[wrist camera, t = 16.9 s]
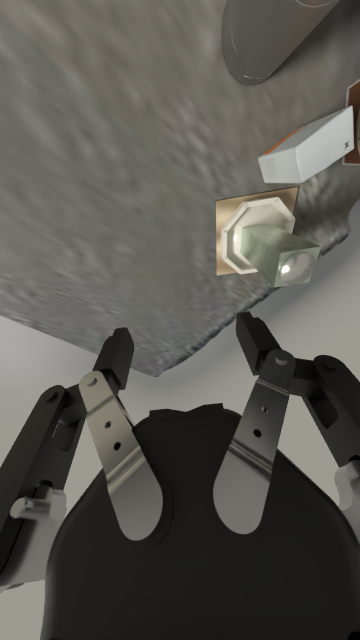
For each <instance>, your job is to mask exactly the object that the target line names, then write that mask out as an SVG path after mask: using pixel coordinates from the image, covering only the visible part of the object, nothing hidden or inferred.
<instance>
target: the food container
mask: <svg viewBox="0 0 360 640" xmlns="http://www.w3.org/2000/svg"><path fill="white" fill-rule="evenodd" d="M351 105H352V106H353V132H354V149H353V150H351V151H350V152H348V153H347V154H345V155H344V156H343V161H342V165H353V166H360V79H359V80H357V81H356V82H354V83H353V84H352V85H350V86H349V87H348V88H347V96H346V107H349V106H351Z"/></svg>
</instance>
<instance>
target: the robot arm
mask: <svg viewBox="0 0 360 640" xmlns="http://www.w3.org/2000/svg"><path fill="white" fill-rule="evenodd" d="M339 1H340V0H227V1H226V5H225V10H224V15H223V23H222V46H223V54H224V58H225V61H226V65H227V67H228V69H229V71H230V73H231V74H232V76H233V77H234V78H235V79H236V80H237V81H238V82H240V83H241V84H244V85H256V84H259V83H261V82H263V81H264V80H266V79H267V78H268V77H269V76H270V75H271V74H272V73H273V72H275V71H276V70H277V68H278V67H279V66H280V65H281V64H282V63H283V62H284V60H286V59H287V57H288V56H289V55H290V54H291V53H292V52H293V51H294V50H295V49H296V48H297V47H298V46H299V44H300V43H301V42H302V41H303V40H304V39H305V38H306V37H307V36H308V35H309V34H310V33H311V32H312V30H313V29H314V28H315V27H316V26H317V25H318V24H319V23H320V22H321V21H322V20H323V19H324V17H325V16H326V15H327V14H328V13H329V12H330V11H331V10H332V9H333V8H334V7H335V6H336V5H337V3H338V2H339ZM236 334H237V337H238V340H239V342H240V345H241V347H242V349H243V352H244V354H245V357H246V359H247V361H248V364H249V366H250V369H251V371H252V373H253V375H254V376H255V375H259V377H258V380H257V381H256V382H255V385H254V387H253V390H252V392H251V395H250V398H249V400H248V402H247V405H246V407H245V410H244V412H243V415H242V416H241V415H240V414H238V413H236V412H234V411H231V410H229V409H224V408H223V404H222V403H218V404H209V405H203V406H200V407H198V408H195V409H193V410H190V411H187V412H183V411H177V410H171V409H160V410H151V411H150V415H149V417H147V418H145V419H143V420H142V421H140V422H139V423H138V424H136V425H135V424H134V422H133V421H132V419H131V418H130V416H129V414H128V413H127V411H126V409H125V407H124V405H123V403H122V402H121V400H120V398H119V396H118V392H119V390H124V389H125V387H126V383H127V379H128V374H129V370H130V365H131V361H132V357H133V352H134V343H133V340H132V338H131V335H130V333H129V331H128V329H127V328H126V327H125V328H117V329H115V331H114V333H113V336H109V338H108V339H107V340H106V341H105V342H104V344H103V347H102V349H101V351H100V354H99V356H98V359H97V361H96V363H95V366H94V368H93V370H92V372H90V373H88V374H87V375H85V376H84V377H83V378H82V380H81V381H80V383H79V384H77V385H74V386H71V387H69V388H67V389H65V388H64V387H62V386H61V385H56V386H53V387H51V388H49V389H48V390H46V391H45V392H44V393H43V394H42V395H41V396H40V398H39V400H38V402H37V403H36V405H35V407H34V408H33V410H32V412H31V414H30V416H29V417H28V419H27V421H26V423H25V425H24V426H23V428H22V430H21V432H20V433H19V435H18V437H17V439H16V441H15V442H14V445H13V446H12V448H11V450H10V451H9V453H8V455H7V457H6V459H5V460H4V462H3V464H2V466H1V468H0V593H1V592H3V591H5V590H8V589H12V588H15V587H19V586H21V585H23V584H24V583H26V582H32V581H39V580H45V604H44V605H45V606H44V616H43V624H42V630H41V637H40V640H360V382H359V381H358V380H357V378H356V377H355V376H354V375H353V374H352V373H351V371H350V370H349V369H348V368H347V367H346V366H345V364H344V363H342V362H341V361H340V360H338V359H336V358H334V357H332V356H327V355H319V356H317V357H315V358H314V360H313V361H312V360H305V359H298V358H294V356H293V355H292V354H290V353H289V352H287V351H284V350H282V349H281V348H280V346H279V344H278V343H277V341H276V339H275V338H274V337H273V335H272V333H270V330H269V329H268V328H267V326H266V324H265V323H264V322H263V321H262V320H260V319H259V318H258V317H257V318H253V317H252V315H251V313H250V312H249V311H247V312H239V313H237V322H236ZM290 394H292V395H297V396H301V397H302V398H303V401H304V402H305V404H306V406H307V408H308V410H309V412H310V414H311V416H312V417H313V419H314V421H315V423H316V425H317V427H318V429H319V430H320V432H321V434H322V436H323V438H324V440H325V442H326V443H327V445H328V447H329V449H330V451H331V453H332V455H333V457H334V459H335V460H336V462H337V464H338V466H339V469H338V470H337V471H336V472H335V483H336V486H337V489H338V492H339V495H340V504H339V507H338V506H337V505H336V504H335V502H334V501H333V500H332V499H331V498H330V497H329V496H328V495H327V494H326V493H325V492H323V491H322V490H321V489H320V488H319V487H318V486H317V485H316V484H315V483H314V482H313V481H312V480H311V479H310V478H308V476H306V475H305V474H304V473H303V472H302V471H301V470H300V469H299V468H298V467H297V466H296V465H295V464H293V462H292V461H290V460H289V459H288V458H287V457H286V456H285V455H284V454H283V453H282V452H281V451H280V450H278V448H277V446H278V441H279V437H280V433H281V429H282V425H283V421H284V416H285V412H286V408H287V404H288V400H289V395H290ZM85 419H86V420H87V423H88V426H89V429H90V431H91V434H92V437H93V440H94V443H95V446H96V449H97V452H98V455H99V458H100V460H101V463H102V466H103V468H102V470H101V471H100V472H99V473H98V475H97V476H96V478H95V479H94V480H93V481H92V483H91V484H90V485H89V487H88V488H87V489H86V491H85V492H84V493H83V495H82V496H81V497H80V499H79V500H78V501H77V503H76V504H75V505H74V507H73V508H72V509H71V511H70V512H69V513H68V515H67V516H66V518H64V516H65V514H66V495H65V493H64V492H63V489H64V486H65V483H66V480H67V476H68V473H69V470H70V467H71V464H72V460H73V457H74V454H75V451H76V448H77V444H78V441H79V438H80V435H81V432H82V428H83V425H84V422H85ZM58 422H59V423H58ZM57 424H58V425H57ZM56 426H57V428H56ZM55 429H56V430H55ZM54 431H55V433H54ZM53 434H54V435H53ZM52 436H53V437H52Z"/></svg>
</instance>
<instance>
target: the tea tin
mask: <svg viewBox="0 0 360 640" xmlns="http://www.w3.org/2000/svg"><path fill="white" fill-rule="evenodd" d="M320 248H321V246H319V245H316V244H314V243H312V242H309V241H307V240H305V239H302V238H300V237H298V236H296V235H293V234H291V233H289V232H286V231H284V230H282V229H279V228H277V227H275V226H272V225H270V224H268V223H266V224H260V225H254V226H248V227H243V228H242V233H241V249H240V253H241V254H242V255H243V256H244V257H245V258H246V259H247V260H248V261H249V262H250V263H251V264H252V265H253V266H254V268H255V269H256V270H257V271H258V272H259V273H260V274H261V275H262V276H263V277H264V278H265V279H266V280H267V281H268V282H269V283H270V284H271V285H272V286H273V287H280V286H286V285H296V284H300V283H307V282H309V281H310V277H311V275H312V273H313V271H314V269H315V266H316V260H317V257H318V254H319V251H320Z"/></svg>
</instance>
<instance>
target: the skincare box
mask: <svg viewBox="0 0 360 640" xmlns="http://www.w3.org/2000/svg"><path fill="white" fill-rule="evenodd" d="M353 149H354V132H353V106H352V105H351V106H349V107H346V108H344V109H342V110H339V111H337V112H335V113H333V114H330V115H328V116H326V117H323V118H321V119H319V120H316V121H314V122H312V123H309V124H307V125H305V126H302V127H300V128H298V129H295V130H293V131H292V132H291V133H290V134H288V135H287V136H286V137H285V138H283V139H282V140H281V141H279V142H278V143H277V144H276V145H274V146H273V147H272V148H270V149H269V150H268V151H266V152H265V153H264V154H262V155H261V156H260V157H258V161H259V164H260V168H261V171H262V175H263V179H264V182H265V183H303V182H305V181H306V180H308V179H309V178H311V177H312V176H314V175H315V174H317V173H318V172H320V171H322V170H323V169H325V168H327V167H328V166H330V165H331V164H332V163H334V162H335V161H337V160H338V159H340V158H341V157H342V156H344V155H345V154H347V153H348V152H350V151H351V150H353Z"/></svg>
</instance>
